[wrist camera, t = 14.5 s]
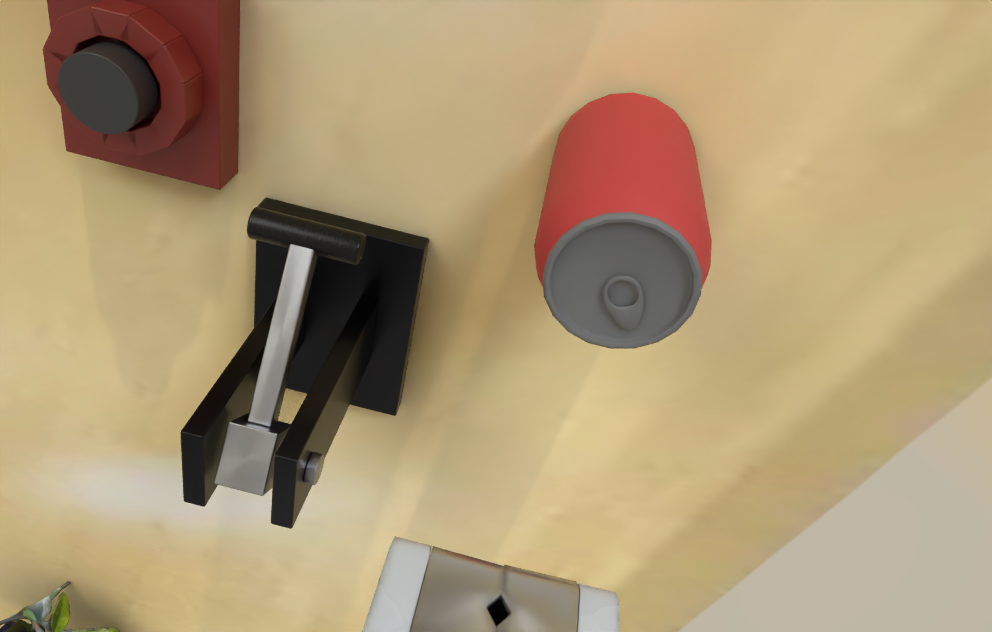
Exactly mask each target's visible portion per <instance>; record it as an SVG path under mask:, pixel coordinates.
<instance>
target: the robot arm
mask: <svg viewBox="0 0 992 632" xmlns="http://www.w3.org/2000/svg"><path fill="white" fill-rule="evenodd" d="M431 548H432V551H431ZM430 553H431V555H430ZM429 557H430V558H429ZM428 561H429V562H428ZM362 632H619V600H618V597H617V595H616V593H615V592H612V591H608V590H604V589H600V588H596V587H591V586H587V585H583V584H577V582H576V581H571V580H567V579H563V578H559V577H554V576H550V575H546V574H542V573H538V572H533V571H529V570H525V569H521V568H516V567H512V566H508V565H504V566H501V565H498V564H494V563H491V562H487V561H484V560H480V559H476V558H473V557H469V556H466V555H462V554H459V553H455V552H451V551H448V550H444V549H441V548H437V547H434V546H433V547H432V546H430V545H426V544H423V543H419V542H415V541H411V540H407V539H403V538H399V537H396V536H395V538H394V540H393V541H392V543H391V545H390V547H389V551H388V554H387V557H386V560H385V563H384V566H383V569H382V572H381V575H380V579H379V582H378V585H377V588H376V591H375V594H374V597H373V600H372V603H371V606H370V610H369V613H368V616H367V619H366V622H365V625H364V628H363V631H362Z"/></svg>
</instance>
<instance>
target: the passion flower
mask: <svg viewBox="0 0 992 632" xmlns="http://www.w3.org/2000/svg"><path fill="white" fill-rule="evenodd" d="M69 584H70V582H66V583H65V584H64V585H62V586H61V587H59V588H57V589H56V590H55V591H53V592H52V593H51V594H49V595H48V596H47V597H45V598H43V599H42V600H40V601H39V602H37V603H36V604H34V605H30V606H27V607H25V608H23V609H22V610H21V611H20V612H18V613H17V614H15V615H13V616H12V617H10V618H7V619H5V620H2V621H0V625H2V624H5V625H3V626H2V627H1V628H0V632H120V631H119V630H118V629H116V628H106V627H98V628H91V629H77V630H63V628H64V627H65V626H66V624H67V623H68V619H69V616H70V605H69V602H68V599H67V596H66V594H65V593H62V594H61V595H60V596H59V599H58V602H57V604H56V606H55V609H54V611H53V614H52V615H51V618H50V620H49V621H48V622H44V619H45V617H46V616H47V614H48V613H50V612H51V609H52V605H51V604H52V600H53V598H54V597H55V596H56V595H57V594H58V593H59V592H60V591H61V590H62V589H63V588H65V587H66V586H67V585H69ZM19 619H27V620H30V621H31V623H32V624H29V623H27V622H25V621H23V620H19Z"/></svg>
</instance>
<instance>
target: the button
mask: <svg viewBox="0 0 992 632" xmlns="http://www.w3.org/2000/svg"><path fill="white" fill-rule="evenodd" d="M58 86H59V91H60V94H61V97H62V99H63V101H64V103H65V105H66V106H67V108H68V109H69V111H70V112H71V113H72V114H73V115H74V116H75V117H76V118H77V119H78V120H79V121H80V122H81V123H82V124H84V125H85V126H87V127H89V128H90V129H92V130H94V131H97V132H100V133H104V134H120V133H123V132H125V131H127V130H129V129H130V128H132V127H133V126H135V125H136V124H138V123H139V122H141V121H142V120H144V119H145V118H147V117H148V116H149V115H151V113H152V112H153V111H154V109H155V107H156V104H157V100H158V88H157V84H156V80H155V78H154V75H153V73H152V71H151V70H150V68H149V66H148V65H147V64H146V62H145V61H144V60H143V59H142V58H141V57H140V56H139V55H138V54H137V53H135V52H134V51H132V50H131V49H129V48H127V47H125V46H123V45H121V44H118V43H113V42H100V43H96V44H94V45H92V46H90V47H88V48H85V49H83V50H81V51H79V52H77V53H74V54H72V55H70V56H69V57H67V58H66V59H65V60H64V62H63V63H62V65H61V67H60V70H59V74H58Z"/></svg>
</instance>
